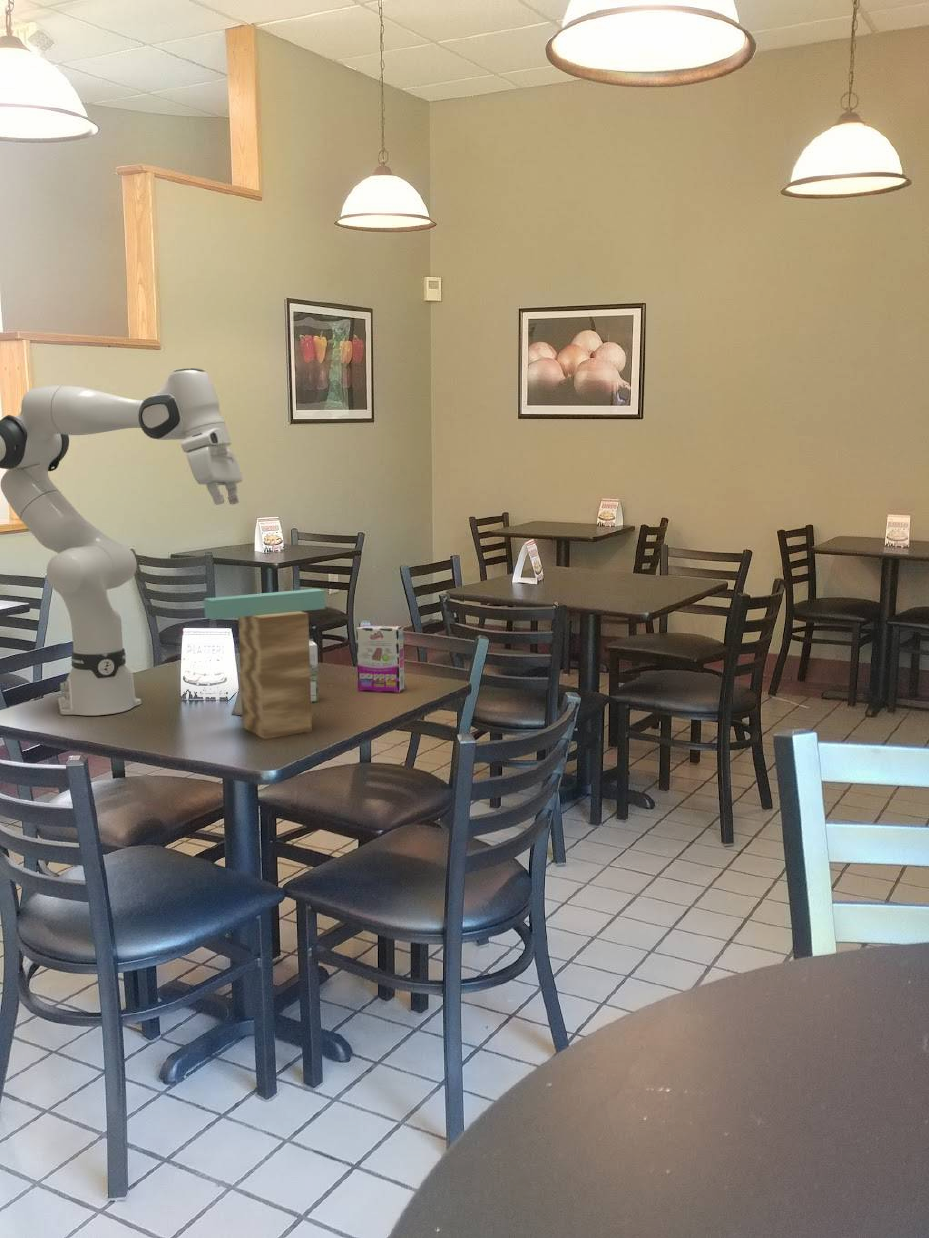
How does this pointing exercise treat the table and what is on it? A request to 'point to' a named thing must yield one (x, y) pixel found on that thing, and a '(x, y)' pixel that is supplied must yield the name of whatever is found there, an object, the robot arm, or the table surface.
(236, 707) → the flask
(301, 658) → the oak stand
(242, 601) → the teal block
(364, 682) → the candy bar box
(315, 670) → the syrup box
